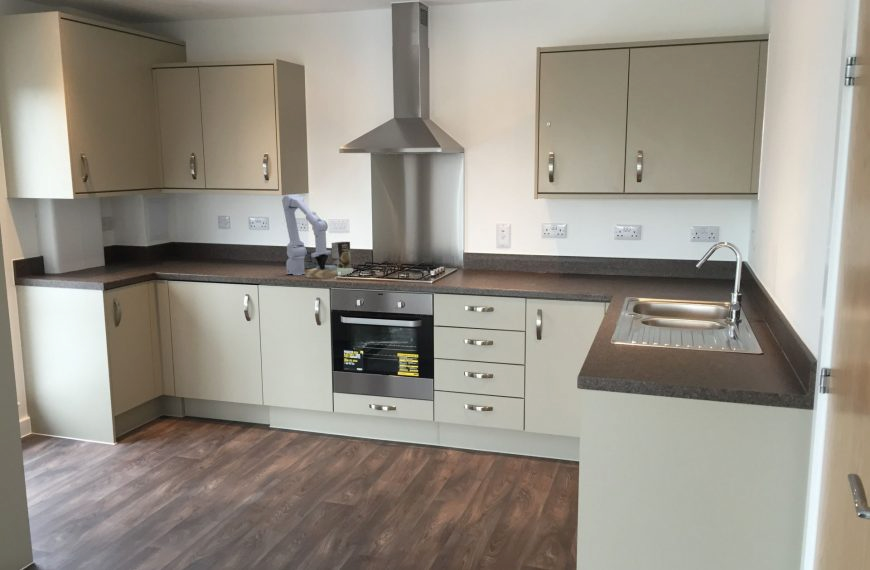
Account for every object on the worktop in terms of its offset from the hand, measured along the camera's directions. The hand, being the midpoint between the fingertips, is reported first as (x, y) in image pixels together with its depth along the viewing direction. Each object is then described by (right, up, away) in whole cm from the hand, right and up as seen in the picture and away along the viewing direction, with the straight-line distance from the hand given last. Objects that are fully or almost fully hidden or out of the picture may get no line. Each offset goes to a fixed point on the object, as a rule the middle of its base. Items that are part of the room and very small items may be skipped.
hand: (322, 268), depth 389 cm
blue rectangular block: (+2, 0, +3) cm, 4 cm away
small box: (-11, +1, +37) cm, 38 cm away
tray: (+7, -3, +12) cm, 14 cm away
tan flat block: (-1, -4, +3) cm, 5 cm away
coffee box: (+7, 0, +26) cm, 27 cm away
